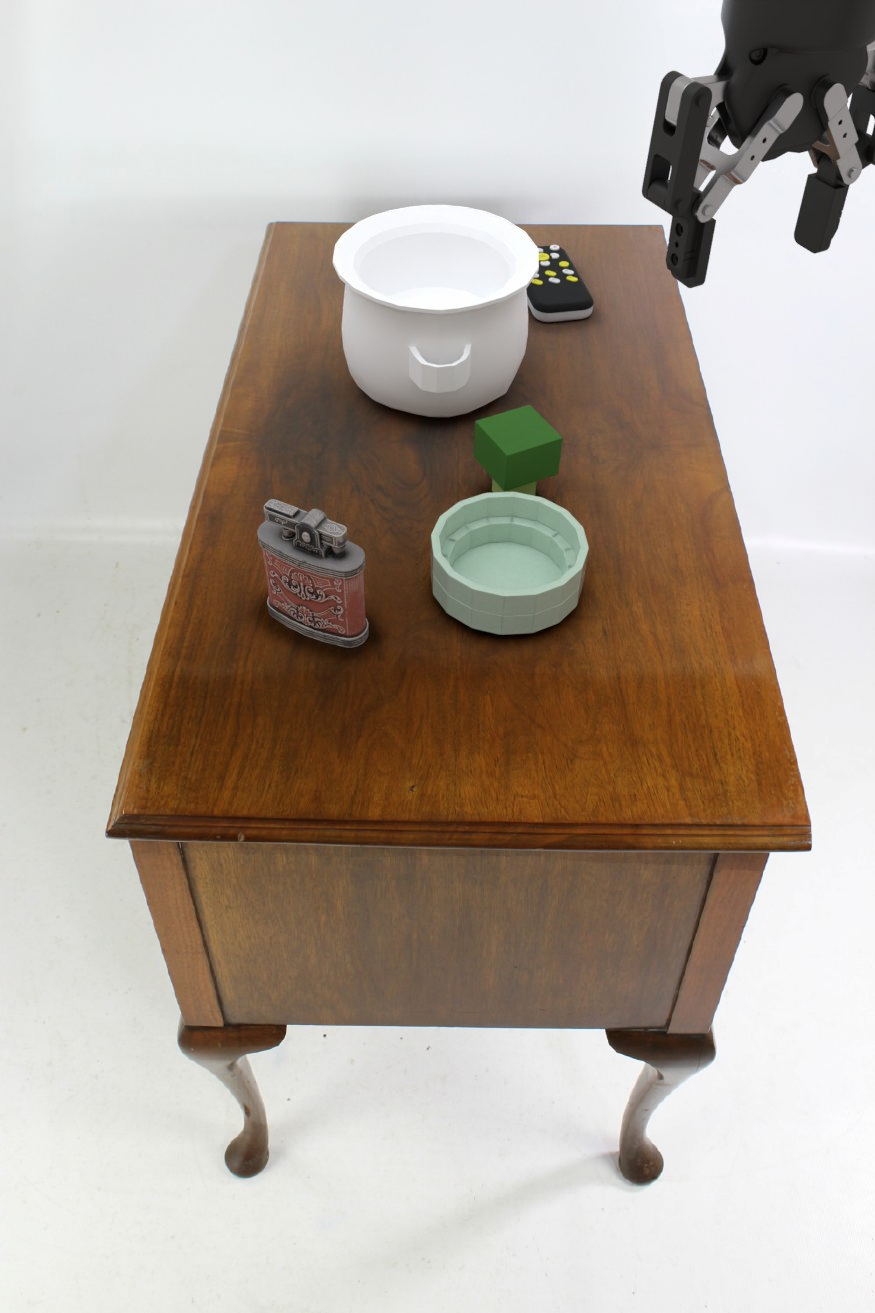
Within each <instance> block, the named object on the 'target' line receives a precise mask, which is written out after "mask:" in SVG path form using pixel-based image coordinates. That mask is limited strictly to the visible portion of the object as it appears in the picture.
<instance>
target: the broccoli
mask: <svg viewBox="0 0 875 1313" xmlns="http://www.w3.org/2000/svg"><path fill="white" fill-rule="evenodd" d="M473 438H474V441H473V458H474V459H475V460H476V462H477V463H478V464H479V465H480V466H481V467H482V468H483V470H484V471H485V472H486V473H487V474H488V475H489V476H490V477H491V480H492V481H491V491H492V493H493V492H519V493H523V494H528V495H533V496H536V490H537V482H538V481H541V480H544V479H547V478H550V477H554V476H556V475H559V472H560V464H561V456H562V448H563V436H562V435H561V434H559V433H558V431H557V430H555V428H554V427H553V426H551V425H550V424H549V422H548V421H546V419H545V418H543V416H542V415H541V414H539V412H538V411H537V410H536V409H535V408H534V407H533V406H532V405H531V404H526V405H524V406H520V407H517V408H513V409H510V410H506V411H504V412H501V413H497V414H494V415H490V416H487V417H483V418H480V419H477V420H475V421H474V437H473Z"/></svg>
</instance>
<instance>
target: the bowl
mask: <svg viewBox="0 0 875 1313" xmlns="http://www.w3.org/2000/svg"><path fill="white" fill-rule="evenodd" d="M589 550H590V547H589V543H588V538H587V536H586V533H585V528H584V526H583V525H582V524H581V523H580V522H579V521H578V520H577V519H576V518H575V517H574V515H572V514H571V512H570V511H569V510H568V509H566V508H564V507H563V506H560V505H558V504H557V503H554V502H553V501H551V500H549V499H547V498H546V497H542V496H537V495H535V496H533V495H528V494H523V493H519V492H493V491H492V492H484V493H481V494H477V495H474V496H470V497H467V498H465V499H462V500H460V501H458V502H456V503H455V504H454V505H453V506H451V507H449V509H447V510H446V511H445V512H443V513H441V515H440V516H439V517H438V519H437V521H436V523H435V525H434V528H433V530H432V532H431V534H430V573H429V574H430V582H431V589H432V590H431V591H432V594H433V597H434V598H435V599H436V601H437V602H438V603H439V605H440V606H441V608H442V609H443V610H444V611H445V613H446V614H447V615H448V616H451V617H452V618H454V619H456V620H457V621H459V622H461V623H462V624H464V625H466V626H467V627H469V628H471V629H473V630H477V631H481V632H486V633H490V634H494V635H502V636H505V635H525V634H534V633H538V632H539V631H542V630H544V629H547V628H550V627H552V626H555V625H557V624H559V623H561V621H563V620H564V619H565V618H566V617H567V616H568V615H570V614H571V612H572V611H573V610H575V609H576V607H577V606H578V603H579V600H580V597H581V594H582V591H583V588H584V581H585V575H586V570H587V563H588V558H589V557H588V556H589Z"/></svg>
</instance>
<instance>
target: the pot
mask: <svg viewBox="0 0 875 1313" xmlns="http://www.w3.org/2000/svg"><path fill="white" fill-rule="evenodd" d="M332 265H333V268H334V269H335V272H336V275H337V276H338V278H339V280H341V282H343V283H344V284H345V285H344V294H343V304H342V316H341V328H340V329H341V337H342V339H341V340H342V350H343V353H344V356H345V357H344V358H345V360H346V364H347V368H348V371H349V374H350V376H351V377H352V379H353V381H354V382H355V384H356V386H357V387H358V388H359V389H360V390H362V392H364V393H365V394H366V395H367V396H368V397H369V398H370V399H371V400H373V401H374V402H376V403H379V404H381V405H383V406H386V407H388V408H391V409H394V410H398V411H402V412H406V413H409V414H414V415H418V416H422V417H427V418H452V417H457V416H461V415H466V414H469V413H471V412H473V411H475V410H477V409H479V408H482V407H484V406H486V405H488V404H489V403H491V402H494V401H495V400H497V399H498V398H501V397H502V396H504V395H505V394H507V393H508V390H509V389H510V387H511V385H512V383H513V381H514V379H515V377H516V376H517V373H518V371H519V368H520V366H521V364H522V361H523V359H524V357H525V355H526V349H527V343H528V335H529V306H528V304H527V290H526V288H527V287H528V285H529V284H530V283H531V281H532V280H533V278H534V277H535V275H536V274H537V272H538V270H539V249H538V245H536V244H535V242H534V241H533V239H532V238H531V237H530V235H529V234H528V233H527V232H526V231H525V230H524V229H522V228H521V227H519V226H517V224H514V223H513V222H511V221H509V220H508V219H506V218H505V217H502V216H500V215H497V214H495V213H493V212H489V211H486V210H484V209H483V210H482V209H479V208H478V209H477V208H473V207H468V206H461V205H460V206H459V205H453V204H452V205H451V204H421V205H413V206H411V205H410V206H405V207H400V208H394V209H389V210H385V211H383V212H379V213H375V214H372V215H370V216H367V217H365V218H364V219H361V220H359V221H357V222H356V223H355V224H354V225H353V226H351V227H350V228H348V229H347V230H346V231H345V232H344V233H342V235H340V237H339V238H338V240H337V241H336V242H335V245H334V249H333V256H332Z"/></svg>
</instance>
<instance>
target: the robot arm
mask: <svg viewBox="0 0 875 1313" xmlns="http://www.w3.org/2000/svg"><path fill="white" fill-rule="evenodd" d="M720 22H721V26H722V30H723V36H724V50H723V52H722V56H721V58H720V61H719V63H718V65H717V67H716V68H715V70H714V72H713V74H711V75H710V74H709V75H704V76H696V77H689V76H687V75H685V74H683V73H681V72H679V71H678V70H670V71H668V72H667V73H666V74H665V75H664V76H663V78H662V79H661V82H660V84H659V85H660V86H659V92H658V96H657V101H656V107H655V113H654V119H653V125H652V129H651V135H650V141H649V145H648V146H649V147H648V153H647V158H646V163H645V170H644V174H643V181H642V186H641V195H642V197H643V198H644V199H646V200H647V201H649V202H650V203H652V204H653V205H655V206H657V207H658V208H659V209H661V210H663V211H664V212H665V213H667V214H668V215H670V216H671V222H670V228H669V236H668V243H667V249H666V250H667V251H666V256H665V264H666V269H667V270H668V271H670V274H671V276H672V277H673V278H674V279H675V280H676V281H677V282H679V283H681V285H684V286H685V287H686V288H688V289H693V288H697V287H700V286H703V285H704V284H705V283H706V278H707V272H708V268H709V262H710V256H711V251H712V246H713V241H714V235H715V230H716V223H717V220H716V219H715V218H713V217H714V216H715V215H716V213H717V212H718V211H719V209H720V207H722V205H723V203H724V202H725V200H726V199H727V197H728V196H729V194H730V193H731V192H732V191H733V189H734V188H735V187H736V186H738V185H739V186H740V185H742V184H745V183H746V182H747V181H748V180H749V179H750V178H751V176H752V174H753V173H754V171H755V170H756V169H757V167H758V166H759V164H760V163H764V162H769V161H773V160H776V159H778V158H779V157H781V156H783V155H785V154H787V153H794V154H795V153H796V154H802V153H805V152H807V153H808V156H809V158H810V161H811V163H812V165H813V167H814V168H815V169H817V170H816V172H812V173H808V174H807V178H806V181H805V184H804V189H803V194H802V198H801V201H800V205H799V210H798V215H797V219H796V223H795V227H794V231H793V239H794V241H795V243H796V244H797V245H798V246H800V247H802V248H804V249H805V250H807V251H809V252H810V253H811V254H819V253H822V252H826V251H828V250H829V249H830V247H831V243H832V240H833V238H834V237H835V235H836V233H837V232H838V229H839V227H840V222H841V218H842V215H843V211H844V208H845V204H846V200H847V197H848V192H849V188H850V185H852V184H854V183H856V181H857V180H858V179H859V177H860V176H861V174H862V171H863V170H864V169H866V168H867V167H869V166H871V165H873V166H875V123H874V124H873V128H872V132H871V133H868V128H869V123H870V119H871V116H872V117H873V118H874V119H873V120H875V0H722V3H721V9H720ZM849 98H850V103H849ZM848 103H849V107H848ZM713 111H714V112H713ZM727 137H728V140H729V142H730V143H731V145H732V146H733V147H734V148H735V149H737V151H735V153H732V154H728V153H726V152H724V151H722V150H720V149H721V146H722V144H723V143H724V142H725V140H726V138H727ZM714 171H715V172H714ZM711 172H714V174H713V175H712V176H711V177H710V179H709V181H708V183H707V184H706V185H705V187H704V188H703V190H701V189H700V188H701V186H702V185H703V183H704V182H705V180H706V179H707V178H708V176H709V175H710V173H711Z"/></svg>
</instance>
